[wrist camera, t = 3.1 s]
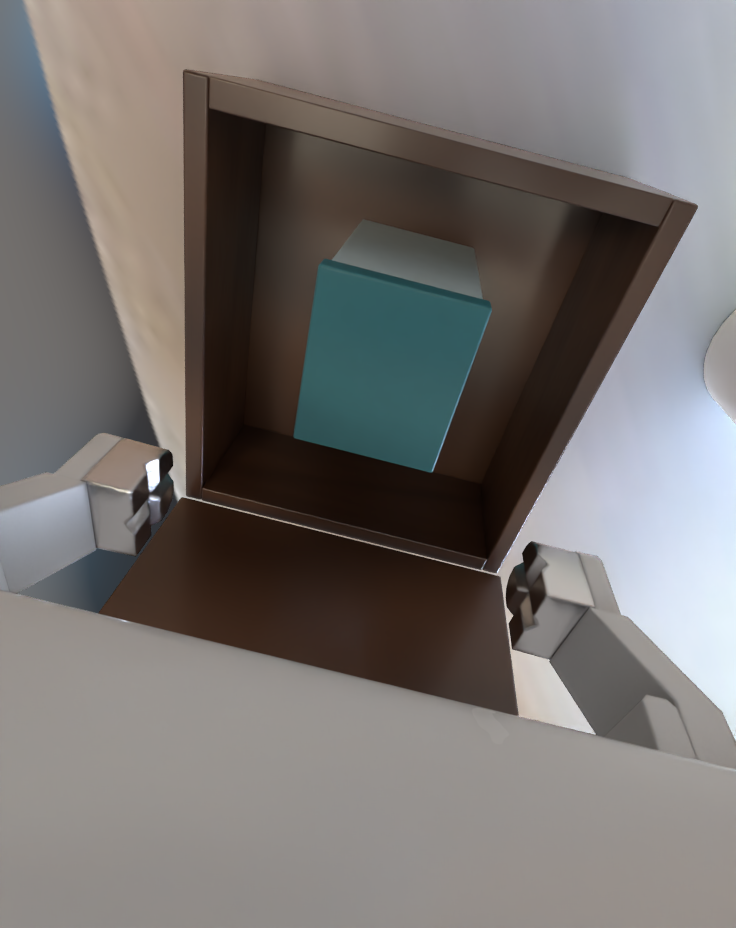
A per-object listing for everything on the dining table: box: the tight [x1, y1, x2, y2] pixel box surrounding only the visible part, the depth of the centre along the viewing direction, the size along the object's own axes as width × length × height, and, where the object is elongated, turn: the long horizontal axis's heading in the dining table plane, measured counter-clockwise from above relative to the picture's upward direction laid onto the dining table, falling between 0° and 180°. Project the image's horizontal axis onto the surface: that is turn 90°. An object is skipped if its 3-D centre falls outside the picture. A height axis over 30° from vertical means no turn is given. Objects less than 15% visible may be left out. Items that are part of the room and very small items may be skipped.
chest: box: [183, 69, 698, 573], centre depth 22 cm, size 17×16×7 cm
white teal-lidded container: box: [293, 220, 492, 472], centre depth 20 cm, size 6×5×8 cm
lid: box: [98, 497, 519, 716], centre depth 18 cm, size 17×16×5 cm
